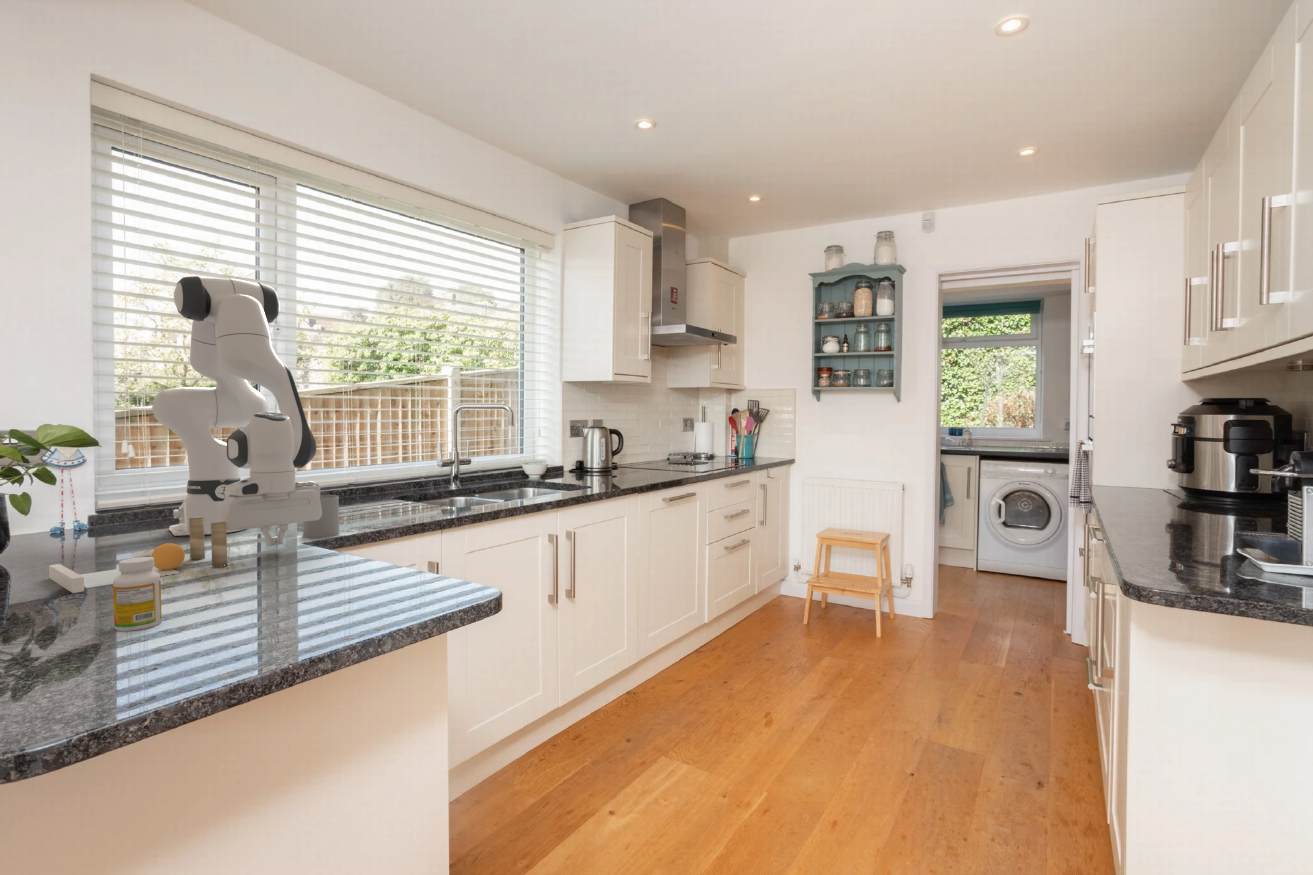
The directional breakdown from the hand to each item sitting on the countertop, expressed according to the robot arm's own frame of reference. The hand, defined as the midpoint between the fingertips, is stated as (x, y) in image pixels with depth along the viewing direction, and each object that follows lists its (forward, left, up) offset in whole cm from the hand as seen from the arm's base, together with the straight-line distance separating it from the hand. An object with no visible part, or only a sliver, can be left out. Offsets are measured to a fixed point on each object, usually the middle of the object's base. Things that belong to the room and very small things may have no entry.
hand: (274, 544), depth 146 cm
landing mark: (0, -27, -2) cm, 27 cm away
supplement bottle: (+41, -35, -2) cm, 54 cm away
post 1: (-6, -13, -2) cm, 15 cm away
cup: (-14, +17, -2) cm, 22 cm away
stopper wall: (0, -35, -2) cm, 36 cm away
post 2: (+6, -13, -2) cm, 14 cm away
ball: (+2, -20, +1) cm, 21 cm away
